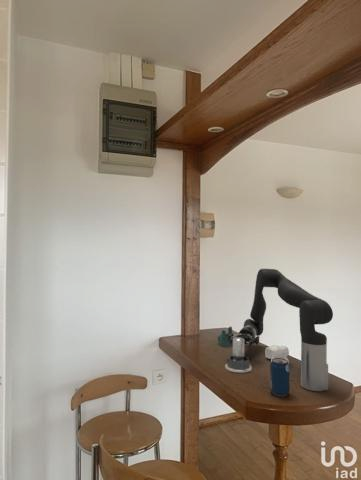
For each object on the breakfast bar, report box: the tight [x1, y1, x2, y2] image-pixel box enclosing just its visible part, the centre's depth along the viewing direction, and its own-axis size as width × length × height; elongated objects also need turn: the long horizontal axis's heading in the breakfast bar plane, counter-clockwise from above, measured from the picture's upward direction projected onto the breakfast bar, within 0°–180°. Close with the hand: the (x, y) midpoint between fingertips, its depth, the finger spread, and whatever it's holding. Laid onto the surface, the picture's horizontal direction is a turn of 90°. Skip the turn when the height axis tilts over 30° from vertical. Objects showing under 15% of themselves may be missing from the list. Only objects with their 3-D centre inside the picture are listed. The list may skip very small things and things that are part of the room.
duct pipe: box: [232, 337, 245, 361], centre depth 155 cm, size 5×5×12 cm
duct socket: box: [224, 354, 253, 374], centre depth 155 cm, size 12×12×4 cm
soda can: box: [269, 358, 291, 397], centre depth 129 cm, size 7×7×12 cm
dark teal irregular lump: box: [217, 326, 233, 348], centre depth 192 cm, size 9×9×9 cm
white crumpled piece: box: [264, 344, 290, 364], centre depth 164 cm, size 9×8×15 cm
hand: (240, 342), depth 159 cm, fingers open, 8 cm apart
